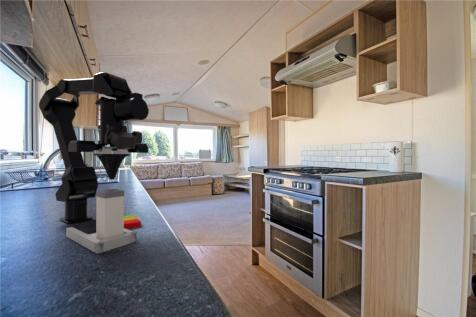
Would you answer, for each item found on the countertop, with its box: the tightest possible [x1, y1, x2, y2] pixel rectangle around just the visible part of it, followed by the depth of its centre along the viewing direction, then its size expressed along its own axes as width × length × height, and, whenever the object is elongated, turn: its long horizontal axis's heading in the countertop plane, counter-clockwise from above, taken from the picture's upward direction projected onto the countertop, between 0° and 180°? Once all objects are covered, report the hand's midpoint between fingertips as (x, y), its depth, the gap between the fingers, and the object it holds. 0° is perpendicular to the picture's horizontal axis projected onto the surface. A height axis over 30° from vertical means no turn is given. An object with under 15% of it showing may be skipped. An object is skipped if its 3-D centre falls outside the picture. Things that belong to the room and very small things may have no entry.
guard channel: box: [65, 226, 137, 255], centre depth 55 cm, size 16×8×2 cm, turn 55°
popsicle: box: [124, 214, 142, 230], centre depth 69 cm, size 6×15×2 cm, turn 37°
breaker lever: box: [95, 188, 125, 241], centre depth 52 cm, size 4×4×11 cm
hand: (112, 179), depth 63 cm, fingers closed
